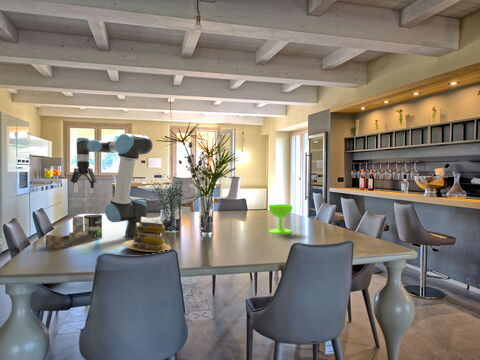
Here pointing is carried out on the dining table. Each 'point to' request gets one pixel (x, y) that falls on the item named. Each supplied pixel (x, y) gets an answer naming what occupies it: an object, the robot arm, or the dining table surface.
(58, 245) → the press bed
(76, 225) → the press ram
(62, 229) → the dining table surface
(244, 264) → the dining table surface
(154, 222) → the stacked food plate
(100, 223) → the coffee can
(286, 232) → the wineglass
